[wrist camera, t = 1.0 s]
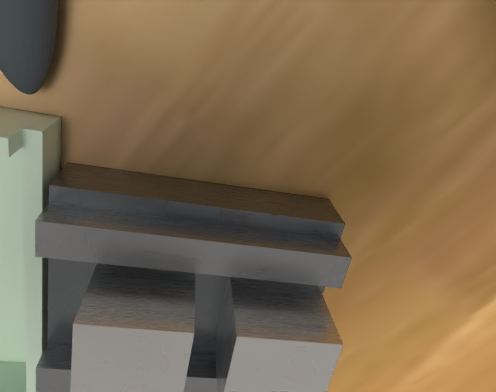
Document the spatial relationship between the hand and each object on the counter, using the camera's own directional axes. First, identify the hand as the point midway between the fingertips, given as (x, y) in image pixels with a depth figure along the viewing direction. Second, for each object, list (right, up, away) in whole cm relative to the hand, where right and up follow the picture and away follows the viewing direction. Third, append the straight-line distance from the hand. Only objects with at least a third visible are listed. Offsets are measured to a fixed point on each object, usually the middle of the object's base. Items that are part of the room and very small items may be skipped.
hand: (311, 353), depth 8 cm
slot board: (-4, -1, +13) cm, 14 cm away
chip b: (-6, -2, +11) cm, 12 cm away
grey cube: (0, -2, +12) cm, 12 cm away
